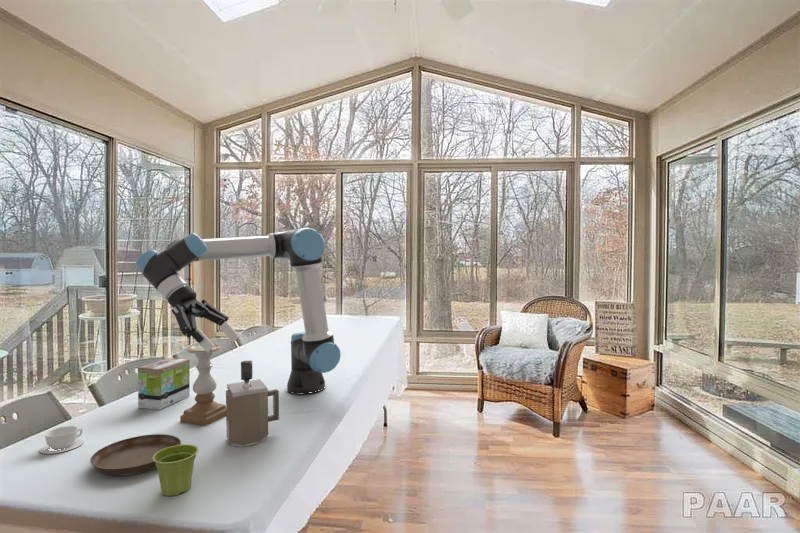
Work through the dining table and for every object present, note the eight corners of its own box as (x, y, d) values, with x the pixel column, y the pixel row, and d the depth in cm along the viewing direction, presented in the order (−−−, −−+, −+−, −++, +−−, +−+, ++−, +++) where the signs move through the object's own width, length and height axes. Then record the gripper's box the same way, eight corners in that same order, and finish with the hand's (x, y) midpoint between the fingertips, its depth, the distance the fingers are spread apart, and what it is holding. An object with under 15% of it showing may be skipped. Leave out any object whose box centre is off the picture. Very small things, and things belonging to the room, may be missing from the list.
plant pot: (164, 479, 105) (164, 444, 105) (204, 477, 106) (204, 443, 106) (145, 501, 96) (144, 463, 95) (189, 499, 97) (188, 461, 96)
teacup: (48, 458, 116) (48, 441, 116) (33, 450, 121) (32, 433, 121) (90, 444, 125) (90, 428, 124) (74, 436, 130) (74, 421, 130)
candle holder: (229, 413, 148) (228, 344, 147) (205, 425, 137) (204, 352, 136) (204, 409, 151) (203, 342, 150) (179, 421, 141) (177, 349, 140)
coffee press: (273, 425, 138) (273, 376, 137) (283, 438, 128) (282, 386, 127) (224, 435, 130) (223, 383, 130) (231, 450, 121) (230, 394, 120)
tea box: (161, 410, 151) (161, 368, 150) (137, 408, 153) (136, 367, 152) (190, 396, 166) (190, 358, 165) (168, 394, 168) (167, 357, 167)
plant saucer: (146, 439, 128) (146, 428, 128) (198, 451, 120) (198, 439, 120) (71, 472, 109) (71, 459, 109) (127, 489, 101) (126, 475, 101)
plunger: (259, 426, 134) (258, 356, 133) (265, 436, 127) (264, 363, 126) (229, 432, 130) (228, 360, 129) (235, 443, 122) (233, 367, 121)
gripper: (195, 297, 143) (238, 343, 141) (139, 307, 118) (189, 363, 116) (210, 281, 142) (253, 327, 140) (156, 288, 117) (207, 344, 115)
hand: (224, 343), depth 128 cm, fingers open, 13 cm apart
